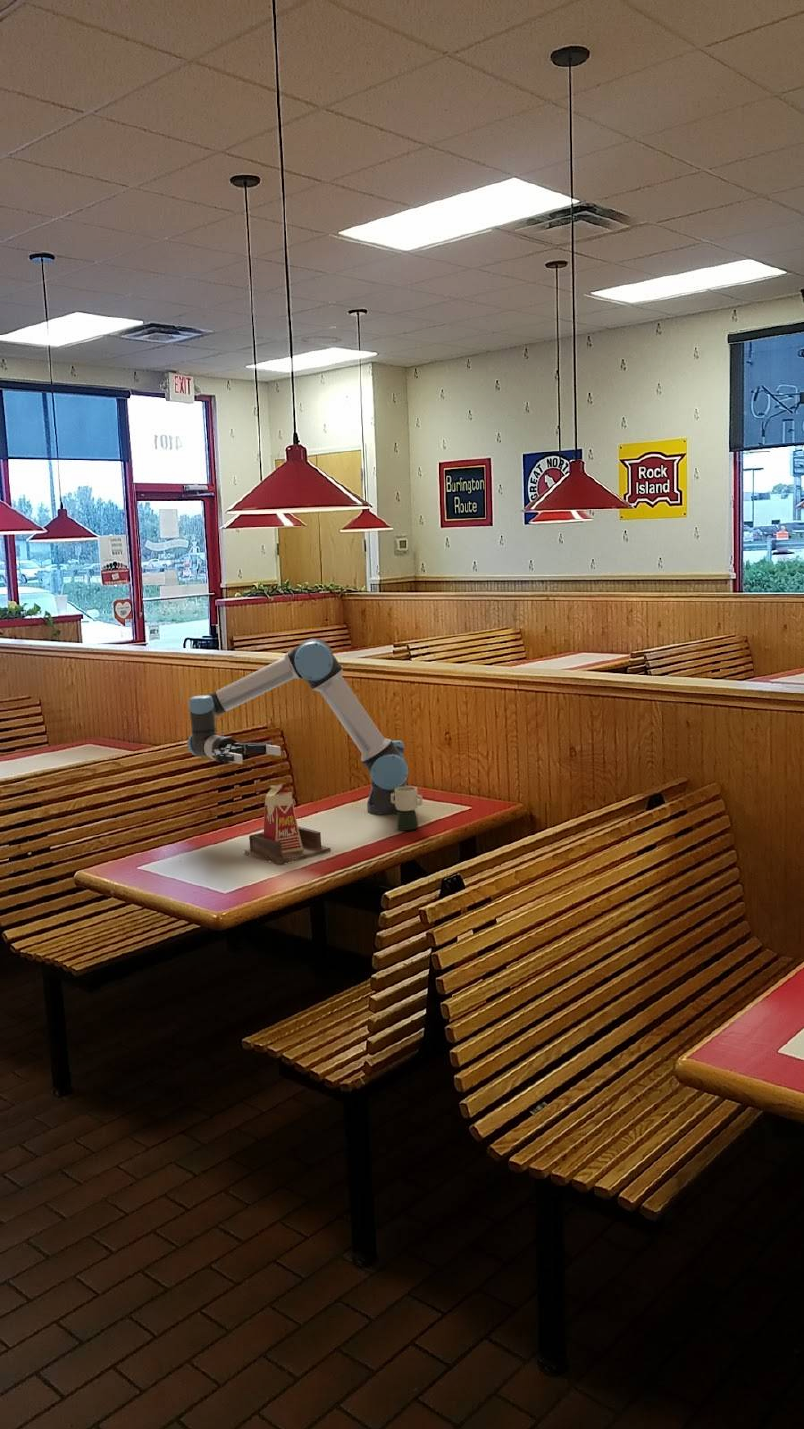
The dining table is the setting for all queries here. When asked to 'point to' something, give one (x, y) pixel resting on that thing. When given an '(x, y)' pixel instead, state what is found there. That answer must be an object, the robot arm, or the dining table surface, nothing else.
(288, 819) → the milk carton
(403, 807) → the character mug
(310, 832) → the carton bracket
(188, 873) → the dining table surface
